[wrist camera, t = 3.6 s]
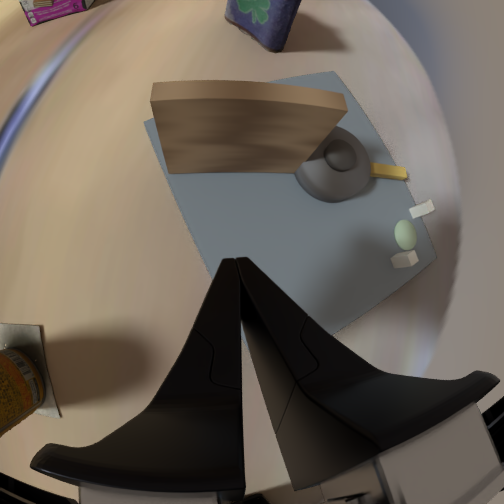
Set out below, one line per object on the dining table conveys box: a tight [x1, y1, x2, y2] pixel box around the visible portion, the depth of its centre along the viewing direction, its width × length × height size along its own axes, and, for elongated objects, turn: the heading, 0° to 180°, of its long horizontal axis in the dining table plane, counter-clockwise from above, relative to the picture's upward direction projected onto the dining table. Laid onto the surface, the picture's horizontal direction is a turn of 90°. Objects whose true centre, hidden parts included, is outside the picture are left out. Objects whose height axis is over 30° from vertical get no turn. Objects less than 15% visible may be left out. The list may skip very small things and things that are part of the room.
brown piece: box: [150, 80, 407, 203], centre depth 17 cm, size 20×6×9 cm, turn 93°
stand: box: [144, 71, 437, 352], centre depth 21 cm, size 22×20×3 cm
